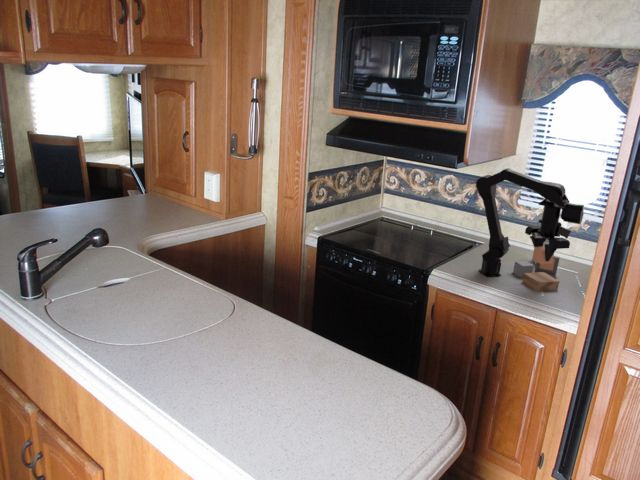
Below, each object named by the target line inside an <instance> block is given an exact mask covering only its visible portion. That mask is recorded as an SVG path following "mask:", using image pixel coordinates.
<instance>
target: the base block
mask: <svg viewBox="0 0 640 480" xmlns="http://www.w3.org/2000/svg"><path fill="white" fill-rule="evenodd" d="M522 283H523V284H525V285H526V286H528V287H529V288H531V289H532V290H534V291H535V292H537V293H538V292H551V291H558V289H559V285H560V280H558V279H557V278H553V277H551V276H550V275H548V274H546V273H545V272H536V273H534V272H532V273H524V276H523V278H522Z"/></svg>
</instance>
